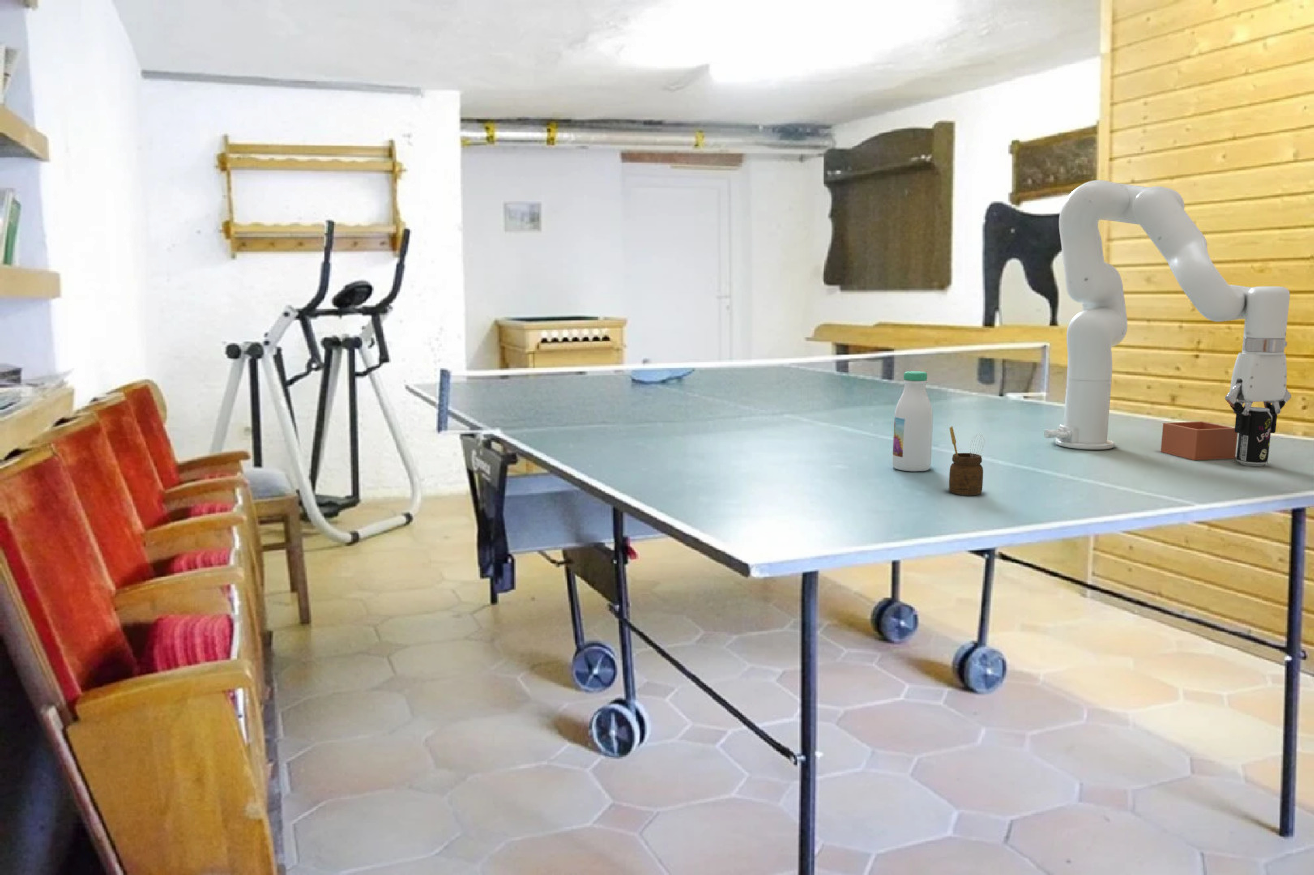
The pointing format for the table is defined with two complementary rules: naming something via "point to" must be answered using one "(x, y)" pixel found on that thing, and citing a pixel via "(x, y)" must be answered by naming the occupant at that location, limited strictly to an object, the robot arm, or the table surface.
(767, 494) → the table surface
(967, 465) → the utensil holder
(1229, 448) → the bin
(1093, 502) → the table surface
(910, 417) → the milk bottle
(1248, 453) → the beverage can
